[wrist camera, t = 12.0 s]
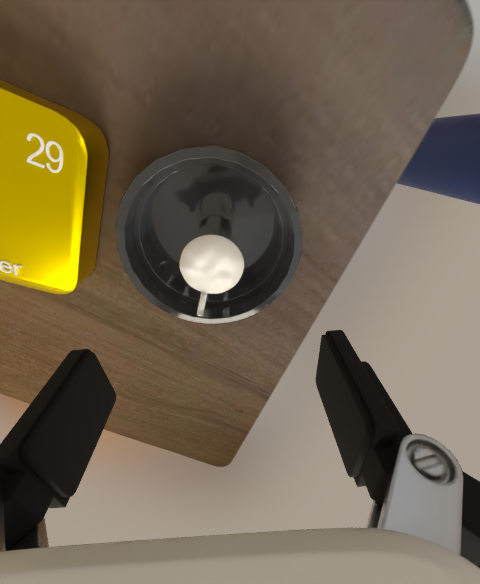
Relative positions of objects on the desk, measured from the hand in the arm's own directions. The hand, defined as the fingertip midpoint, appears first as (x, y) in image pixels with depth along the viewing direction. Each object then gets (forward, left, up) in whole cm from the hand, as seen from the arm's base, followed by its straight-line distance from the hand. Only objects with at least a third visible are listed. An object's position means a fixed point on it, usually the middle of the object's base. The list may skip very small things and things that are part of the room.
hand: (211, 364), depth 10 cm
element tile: (+18, -6, -18) cm, 26 cm away
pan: (+1, 0, -17) cm, 17 cm away
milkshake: (0, 0, -17) cm, 17 cm away
